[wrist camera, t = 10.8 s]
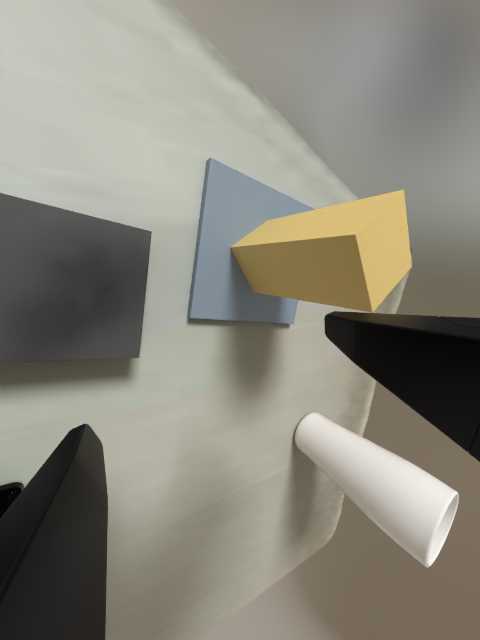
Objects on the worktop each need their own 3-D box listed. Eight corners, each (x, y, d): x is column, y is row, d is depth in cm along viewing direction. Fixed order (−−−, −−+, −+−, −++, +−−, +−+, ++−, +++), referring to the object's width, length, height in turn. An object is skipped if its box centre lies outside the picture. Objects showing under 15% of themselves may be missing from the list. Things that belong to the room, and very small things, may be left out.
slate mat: (289, 322, 26) (293, 323, 26) (187, 316, 19) (190, 317, 19) (310, 210, 25) (314, 209, 24) (206, 160, 18) (210, 157, 17)
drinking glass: (293, 410, 30) (441, 512, 18) (326, 401, 34) (466, 480, 21) (284, 458, 31) (418, 586, 19) (317, 444, 35) (446, 543, 22)
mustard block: (253, 292, 22) (372, 312, 13) (230, 247, 20) (355, 234, 11) (285, 265, 23) (411, 266, 14) (267, 220, 21) (403, 189, 12)
